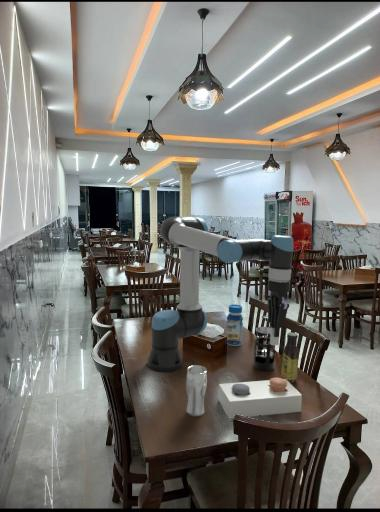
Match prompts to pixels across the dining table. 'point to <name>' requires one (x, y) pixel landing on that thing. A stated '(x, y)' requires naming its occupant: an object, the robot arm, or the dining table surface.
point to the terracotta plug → (278, 384)
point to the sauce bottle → (290, 358)
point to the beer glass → (196, 389)
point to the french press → (263, 350)
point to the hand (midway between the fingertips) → (274, 344)
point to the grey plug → (240, 389)
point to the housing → (259, 399)
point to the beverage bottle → (234, 325)
